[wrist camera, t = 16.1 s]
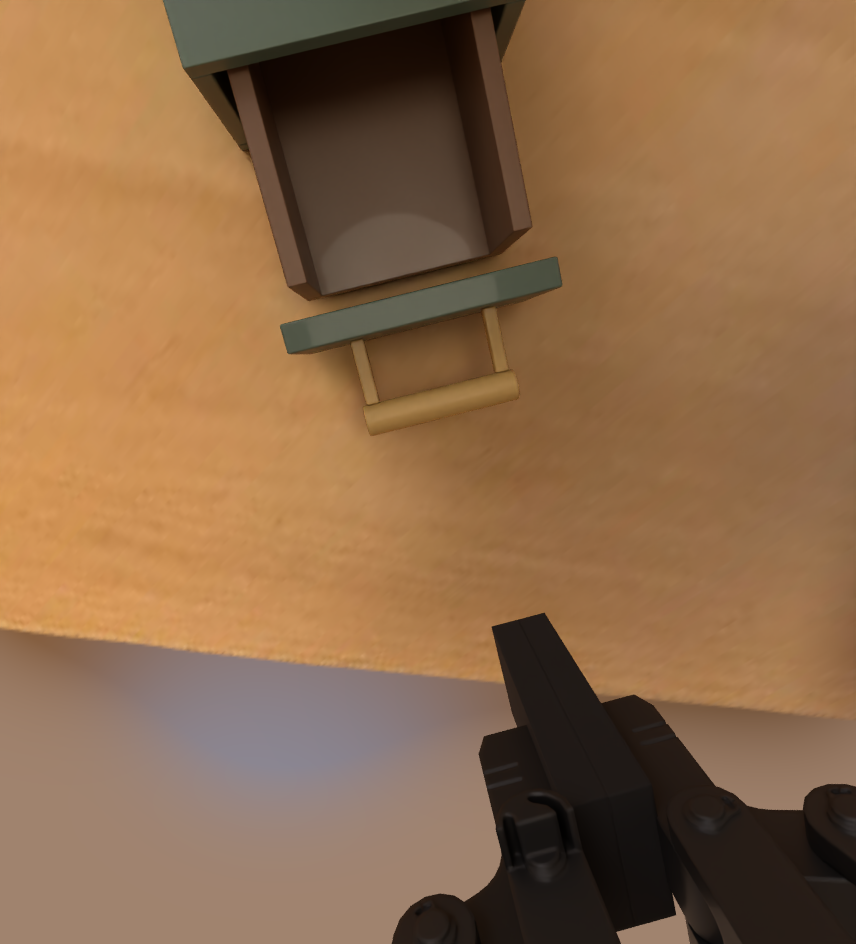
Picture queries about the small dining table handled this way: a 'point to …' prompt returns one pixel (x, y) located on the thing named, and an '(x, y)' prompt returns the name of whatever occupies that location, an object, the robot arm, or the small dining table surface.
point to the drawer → (394, 193)
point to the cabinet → (296, 34)
